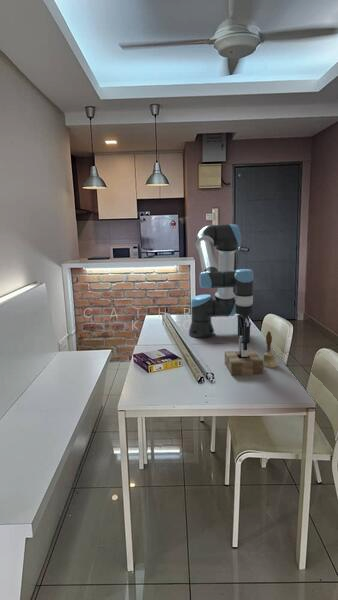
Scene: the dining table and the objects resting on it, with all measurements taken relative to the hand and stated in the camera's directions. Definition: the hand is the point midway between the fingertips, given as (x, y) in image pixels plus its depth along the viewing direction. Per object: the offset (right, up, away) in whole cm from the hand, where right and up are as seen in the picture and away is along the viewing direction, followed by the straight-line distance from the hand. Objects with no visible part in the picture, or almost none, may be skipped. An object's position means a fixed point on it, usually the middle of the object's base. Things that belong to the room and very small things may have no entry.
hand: (243, 354), depth 166 cm
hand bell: (+13, -6, +5) cm, 15 cm away
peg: (0, -3, +1) cm, 3 cm away
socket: (0, -7, +2) cm, 7 cm away
